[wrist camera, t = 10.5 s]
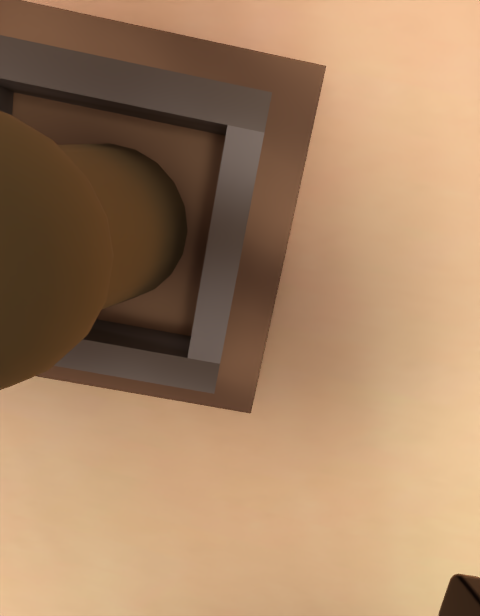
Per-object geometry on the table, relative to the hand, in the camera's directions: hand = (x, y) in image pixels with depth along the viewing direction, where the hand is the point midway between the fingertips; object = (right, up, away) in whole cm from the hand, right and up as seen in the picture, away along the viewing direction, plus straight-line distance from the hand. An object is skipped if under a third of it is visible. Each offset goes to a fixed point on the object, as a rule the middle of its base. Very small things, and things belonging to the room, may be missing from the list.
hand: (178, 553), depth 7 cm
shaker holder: (-4, +8, +11) cm, 14 cm away
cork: (-4, +7, +10) cm, 13 cm away
